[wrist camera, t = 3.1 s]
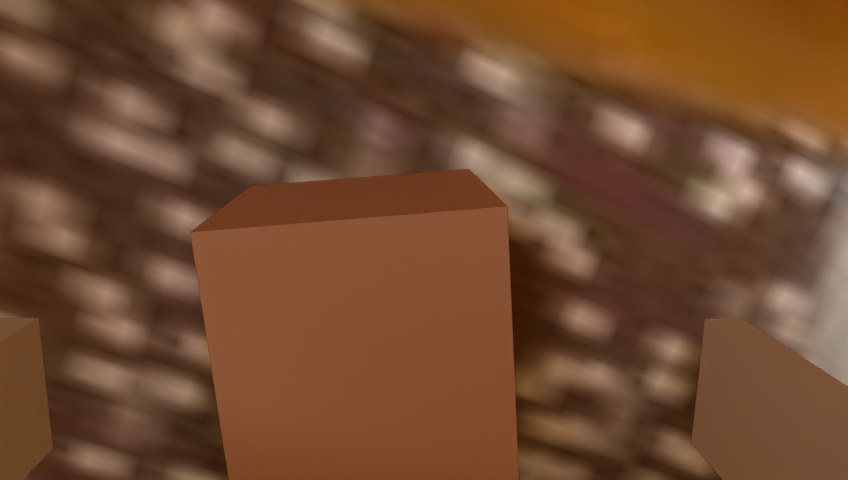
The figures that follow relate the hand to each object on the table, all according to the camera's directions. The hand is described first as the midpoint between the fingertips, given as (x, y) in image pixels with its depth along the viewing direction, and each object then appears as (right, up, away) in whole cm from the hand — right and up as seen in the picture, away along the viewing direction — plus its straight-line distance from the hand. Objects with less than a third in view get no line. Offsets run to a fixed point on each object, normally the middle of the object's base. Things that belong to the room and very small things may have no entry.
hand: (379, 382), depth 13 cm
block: (-1, +2, +6) cm, 6 cm away
